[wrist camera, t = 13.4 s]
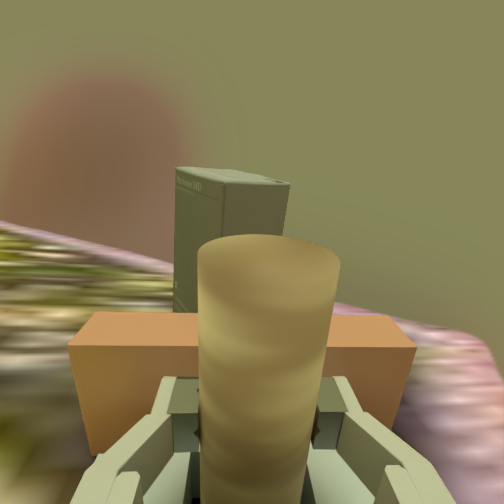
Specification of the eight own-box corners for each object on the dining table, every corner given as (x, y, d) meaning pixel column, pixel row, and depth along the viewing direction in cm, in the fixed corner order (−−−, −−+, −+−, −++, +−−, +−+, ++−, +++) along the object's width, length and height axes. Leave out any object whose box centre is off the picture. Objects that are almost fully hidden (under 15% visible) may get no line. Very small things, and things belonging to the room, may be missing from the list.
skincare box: (171, 324, 29) (162, 165, 23) (228, 304, 33) (232, 166, 28) (212, 374, 23) (213, 176, 17) (276, 343, 27) (293, 175, 22)
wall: (384, 450, 18) (417, 347, 15) (91, 456, 16) (67, 345, 14) (364, 408, 20) (388, 315, 18) (112, 411, 19) (95, 311, 16)
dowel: (182, 569, 12) (165, 259, 7) (230, 478, 15) (240, 228, 10) (268, 643, 10) (320, 301, 5) (301, 521, 13) (350, 248, 9)
